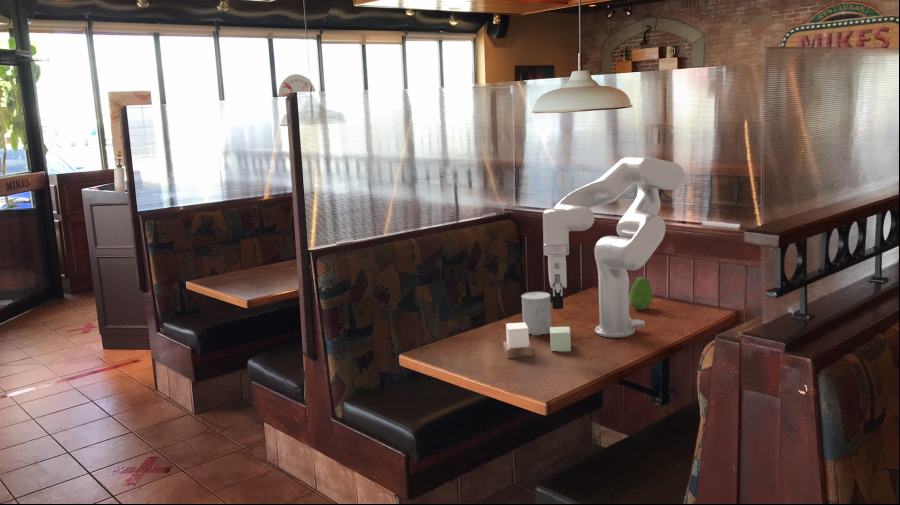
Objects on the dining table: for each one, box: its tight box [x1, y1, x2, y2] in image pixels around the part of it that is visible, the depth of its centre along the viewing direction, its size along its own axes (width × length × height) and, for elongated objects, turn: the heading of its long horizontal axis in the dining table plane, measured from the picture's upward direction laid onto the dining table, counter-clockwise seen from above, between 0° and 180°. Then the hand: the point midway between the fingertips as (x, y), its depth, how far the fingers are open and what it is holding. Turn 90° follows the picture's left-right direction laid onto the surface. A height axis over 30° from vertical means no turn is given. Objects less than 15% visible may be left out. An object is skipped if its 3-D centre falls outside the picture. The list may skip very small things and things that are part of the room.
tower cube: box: [505, 321, 530, 348], centre depth 222 cm, size 6×6×6 cm
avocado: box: [629, 276, 654, 311], centre depth 258 cm, size 8×8×12 cm
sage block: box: [549, 326, 572, 352], centre depth 224 cm, size 6×6×6 cm
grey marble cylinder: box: [520, 291, 552, 336], centre depth 242 cm, size 10×10×12 cm
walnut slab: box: [502, 340, 534, 359], centre depth 223 cm, size 8×8×3 cm
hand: (557, 304), depth 222 cm, fingers open, 9 cm apart
